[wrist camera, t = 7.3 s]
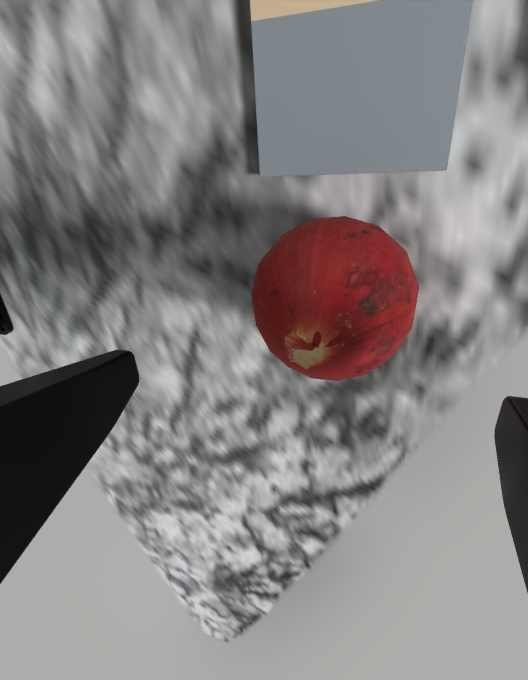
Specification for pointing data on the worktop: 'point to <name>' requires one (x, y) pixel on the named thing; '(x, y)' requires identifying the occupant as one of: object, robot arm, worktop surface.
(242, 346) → the worktop surface
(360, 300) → the onion
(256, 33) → the track
